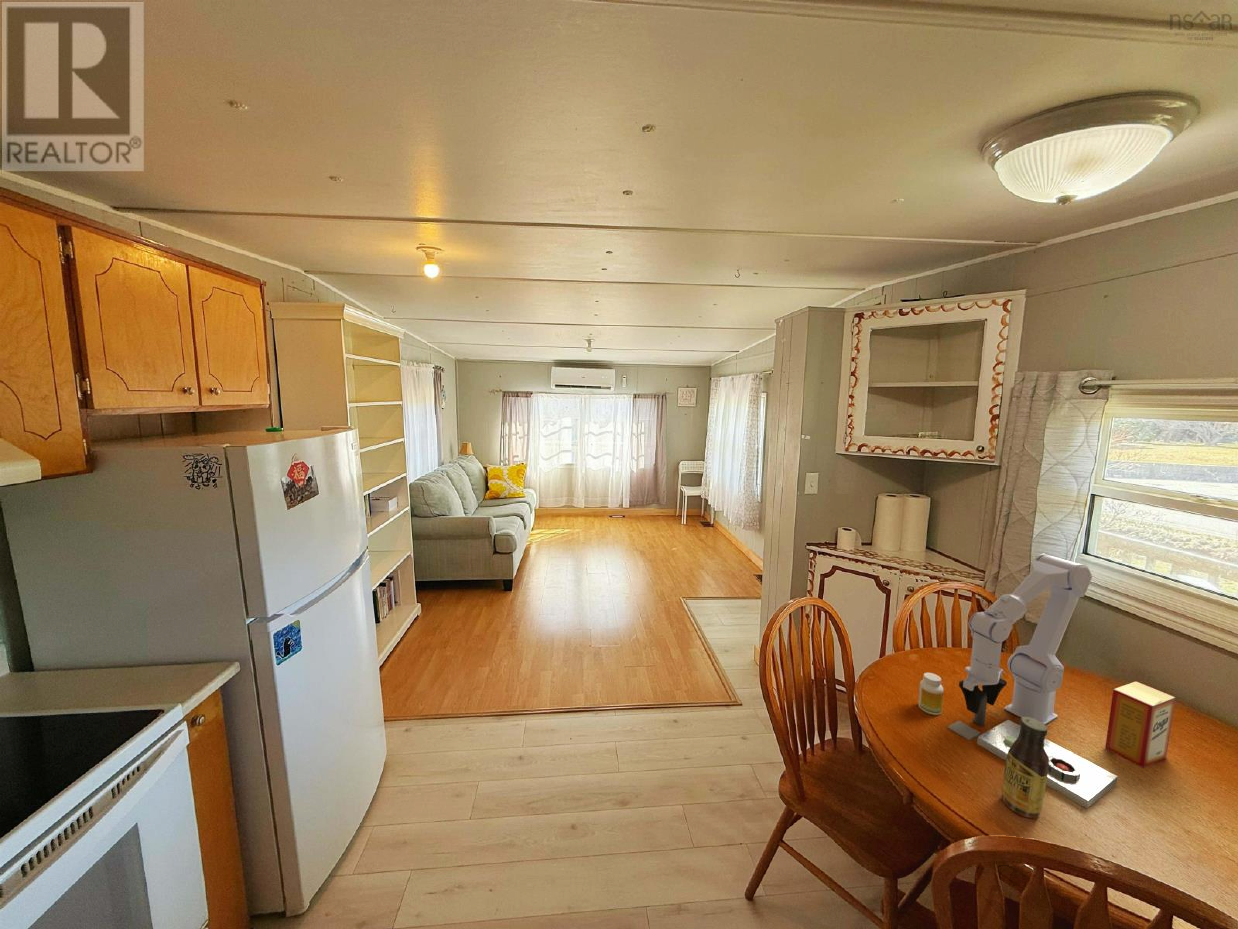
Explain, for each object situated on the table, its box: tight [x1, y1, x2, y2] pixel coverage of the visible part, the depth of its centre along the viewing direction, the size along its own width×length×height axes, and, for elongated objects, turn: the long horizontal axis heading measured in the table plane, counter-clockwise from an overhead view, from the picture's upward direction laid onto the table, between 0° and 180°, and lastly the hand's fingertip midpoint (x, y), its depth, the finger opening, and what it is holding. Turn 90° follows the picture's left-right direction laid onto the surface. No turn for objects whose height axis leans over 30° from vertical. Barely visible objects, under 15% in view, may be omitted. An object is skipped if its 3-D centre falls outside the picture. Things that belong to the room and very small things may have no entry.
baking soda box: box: [1105, 681, 1177, 769], centre depth 106 cm, size 10×6×16 cm
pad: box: [1005, 735, 1017, 746], centre depth 108 cm, size 2×2×2 cm
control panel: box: [976, 719, 1118, 809], centre depth 104 cm, size 14×20×3 cm
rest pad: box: [947, 720, 982, 741], centre depth 115 cm, size 5×5×1 cm
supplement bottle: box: [917, 672, 944, 716], centre depth 123 cm, size 5×5×10 cm
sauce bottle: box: [1001, 717, 1049, 819], centre depth 92 cm, size 7×6×20 cm
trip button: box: [1056, 763, 1069, 772], centre depth 100 cm, size 2×2×2 cm
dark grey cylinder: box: [973, 695, 988, 727], centre depth 117 cm, size 2×2×8 cm
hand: (980, 707), depth 117 cm, fingers open, 7 cm apart
